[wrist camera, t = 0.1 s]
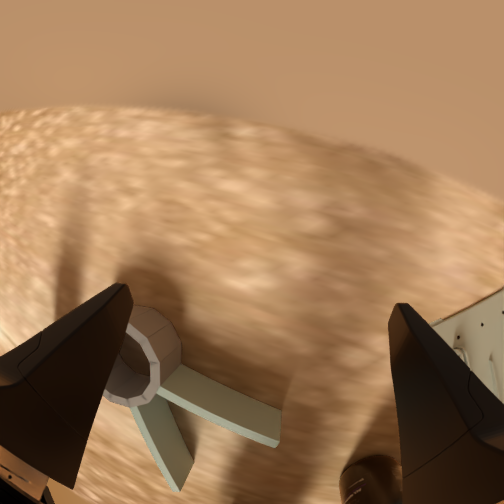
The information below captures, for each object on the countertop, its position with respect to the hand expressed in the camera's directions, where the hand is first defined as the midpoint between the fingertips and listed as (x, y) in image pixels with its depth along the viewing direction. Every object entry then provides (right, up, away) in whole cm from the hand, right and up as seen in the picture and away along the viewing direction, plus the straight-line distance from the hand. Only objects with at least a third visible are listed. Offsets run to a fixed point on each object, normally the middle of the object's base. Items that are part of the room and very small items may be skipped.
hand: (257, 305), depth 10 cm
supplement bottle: (+12, -22, +14) cm, 29 cm away
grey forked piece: (-6, -10, +16) cm, 20 cm away
